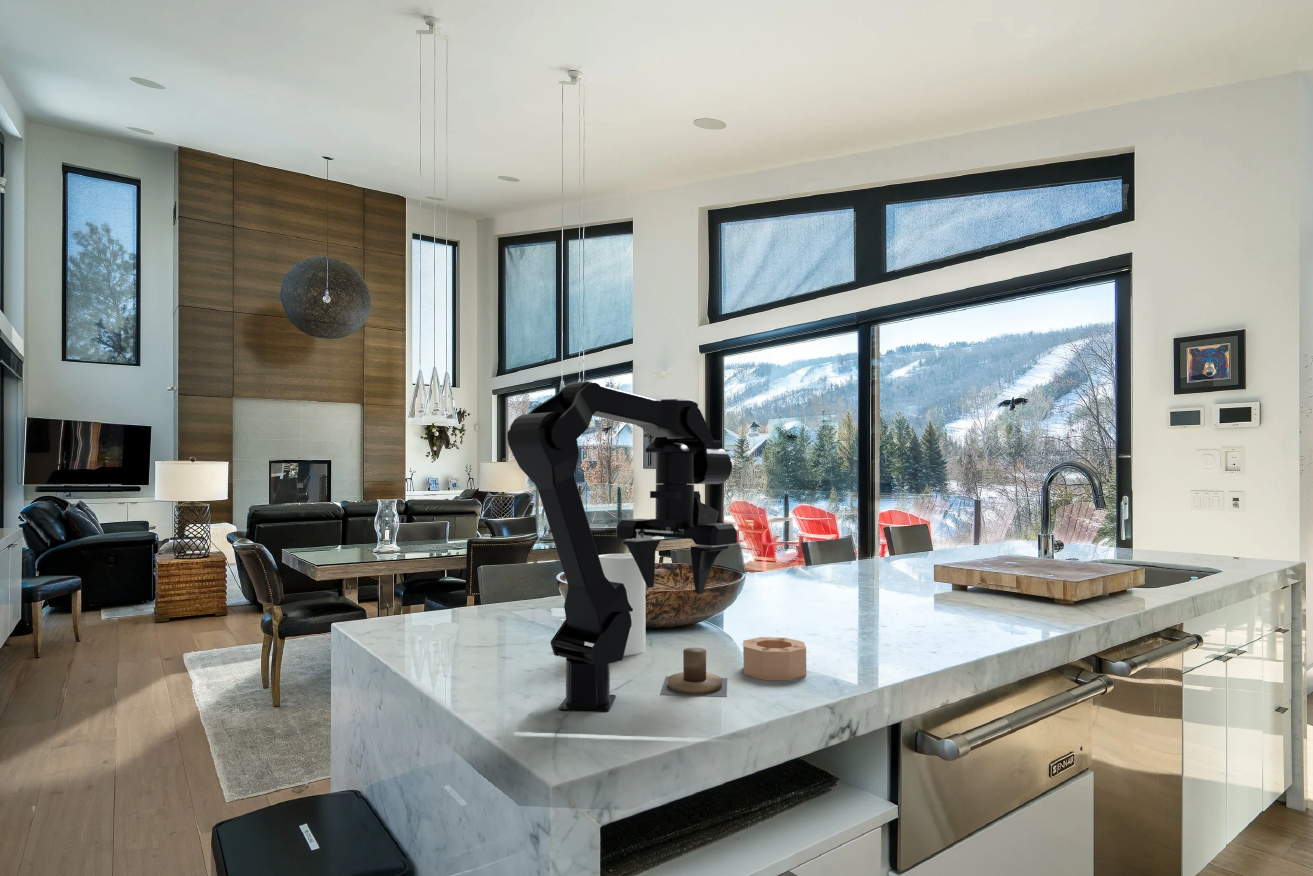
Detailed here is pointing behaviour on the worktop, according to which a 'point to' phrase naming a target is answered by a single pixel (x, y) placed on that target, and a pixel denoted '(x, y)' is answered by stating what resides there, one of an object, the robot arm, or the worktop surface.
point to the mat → (719, 693)
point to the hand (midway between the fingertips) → (674, 590)
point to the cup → (629, 595)
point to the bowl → (774, 658)
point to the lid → (694, 675)
